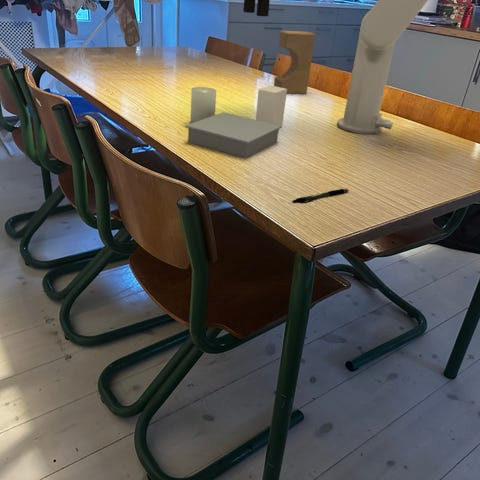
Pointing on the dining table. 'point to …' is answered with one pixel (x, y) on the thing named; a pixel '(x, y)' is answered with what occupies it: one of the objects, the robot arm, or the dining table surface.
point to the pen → (320, 196)
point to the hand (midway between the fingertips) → (255, 14)
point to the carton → (271, 105)
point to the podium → (233, 134)
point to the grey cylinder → (202, 103)
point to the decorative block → (296, 61)
